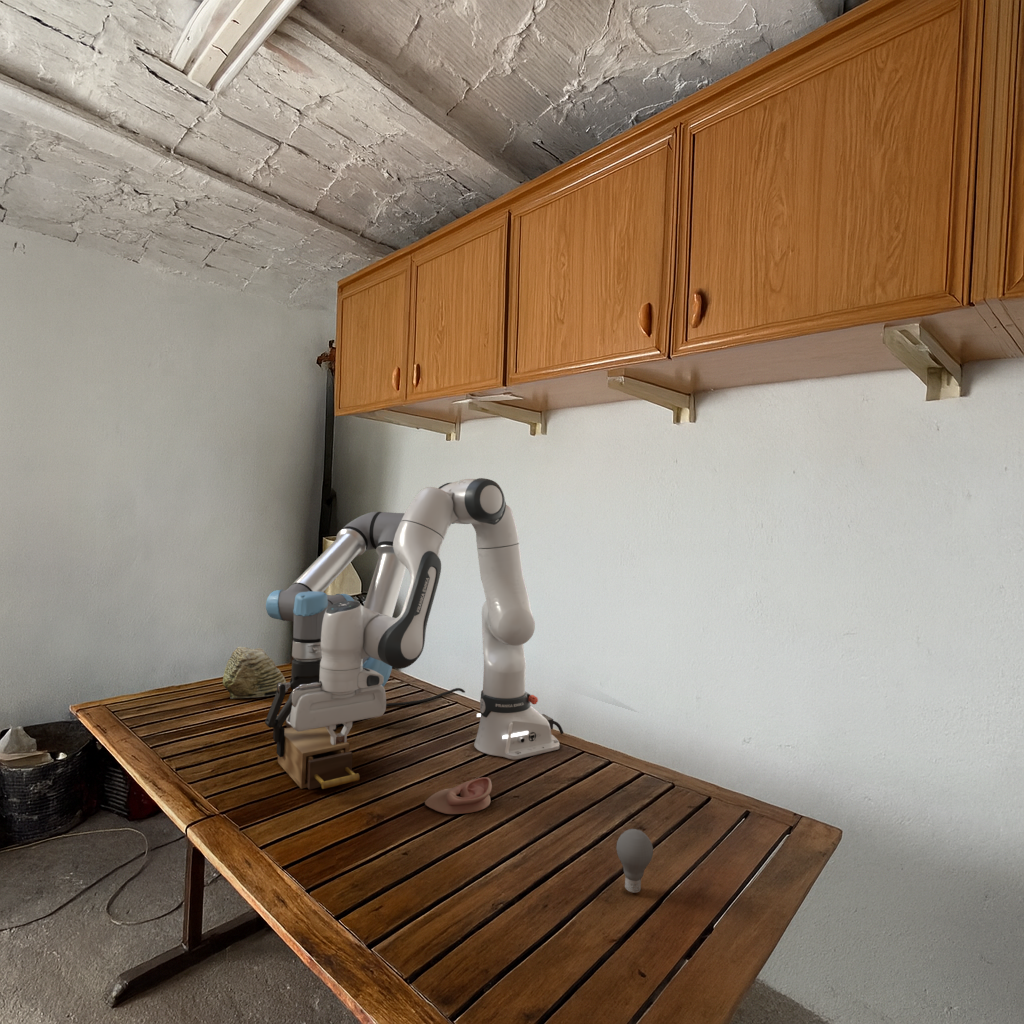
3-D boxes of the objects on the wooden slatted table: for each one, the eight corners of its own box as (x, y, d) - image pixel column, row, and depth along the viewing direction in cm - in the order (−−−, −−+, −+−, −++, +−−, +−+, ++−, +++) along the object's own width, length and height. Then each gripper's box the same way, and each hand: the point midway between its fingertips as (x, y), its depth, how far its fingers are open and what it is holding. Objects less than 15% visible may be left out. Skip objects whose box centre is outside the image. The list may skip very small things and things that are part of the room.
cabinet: (348, 777, 143) (349, 743, 143) (301, 789, 137) (302, 753, 137) (321, 752, 156) (322, 721, 156) (277, 762, 150) (278, 729, 150)
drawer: (362, 789, 136) (363, 762, 136) (319, 800, 130) (320, 772, 130) (326, 755, 152) (327, 731, 152) (286, 764, 147) (287, 739, 146)
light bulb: (610, 879, 108) (613, 822, 108) (644, 879, 109) (647, 822, 109) (619, 902, 102) (622, 840, 102) (655, 901, 103) (658, 840, 103)
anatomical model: (420, 791, 129) (438, 768, 141) (419, 810, 129) (437, 786, 141) (483, 800, 127) (496, 776, 138) (482, 819, 127) (495, 794, 138)
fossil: (218, 695, 195) (220, 647, 195) (278, 685, 208) (279, 640, 207) (228, 703, 189) (230, 653, 188) (289, 692, 201) (290, 645, 201)
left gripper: (262, 667, 140) (258, 766, 140) (361, 655, 154) (358, 745, 154) (252, 660, 146) (249, 754, 146) (349, 649, 160) (345, 735, 160)
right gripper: (297, 689, 126) (294, 758, 126) (390, 675, 138) (388, 738, 139) (286, 681, 131) (284, 748, 131) (377, 669, 143) (375, 729, 144)
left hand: (305, 749), depth 150 cm, fingers open, 11 cm apart
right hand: (338, 743), depth 135 cm, fingers closed
